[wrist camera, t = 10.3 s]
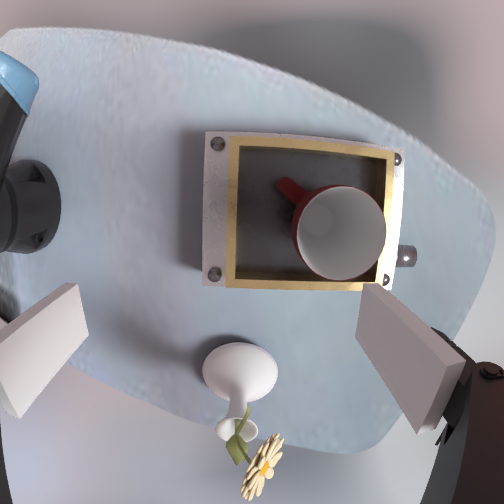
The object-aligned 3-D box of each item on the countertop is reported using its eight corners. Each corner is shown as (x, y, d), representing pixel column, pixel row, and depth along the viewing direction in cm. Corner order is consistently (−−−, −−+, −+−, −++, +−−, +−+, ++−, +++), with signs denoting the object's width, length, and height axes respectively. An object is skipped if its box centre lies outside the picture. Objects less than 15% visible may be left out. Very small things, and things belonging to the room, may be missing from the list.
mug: (250, 216, 33) (249, 230, 23) (290, 157, 31) (307, 146, 22) (324, 267, 34) (350, 298, 25) (363, 211, 33) (403, 222, 23)
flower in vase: (259, 401, 45) (262, 531, 21) (194, 380, 44) (161, 510, 20) (294, 342, 42) (328, 482, 18) (222, 316, 41) (194, 457, 17)
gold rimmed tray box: (208, 273, 40) (198, 294, 32) (211, 137, 36) (201, 126, 28) (399, 278, 40) (426, 297, 32) (411, 157, 36) (442, 153, 28)
